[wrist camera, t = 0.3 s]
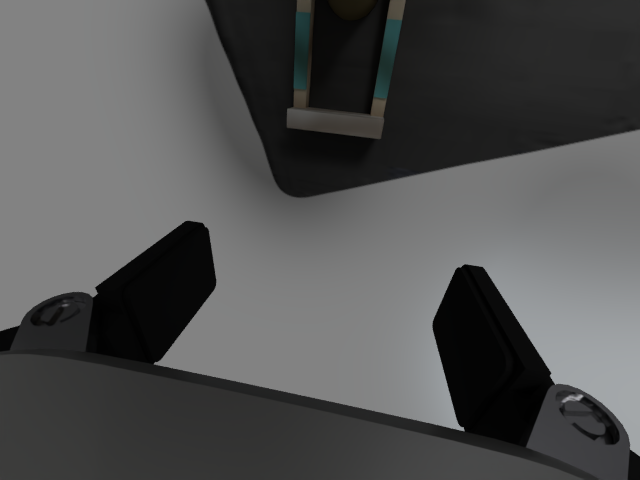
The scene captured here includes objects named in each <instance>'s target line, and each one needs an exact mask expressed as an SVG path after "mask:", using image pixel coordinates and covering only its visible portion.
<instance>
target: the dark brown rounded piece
mask: <svg viewBox="0 0 640 480" xmlns="http://www.w3.org/2000/svg"><path fill="white" fill-rule="evenodd" d="M377 1H378V0H328V3H329V5H330V7H331V9H332V10H333V12H334V13H335V14H336V15H338V16H339V17H340V18H341V19H345V20H348V21H353V20H359V19H361V18H363V17H364V16H366V15H367V14H368V13H369V12H370V11H371V10H372V9H373V8H374V7H375V5H376V3H377Z"/></svg>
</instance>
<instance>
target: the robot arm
mask: <svg viewBox="0 0 640 480" xmlns="http://www.w3.org/2000/svg"><path fill="white" fill-rule="evenodd" d="M215 286H216V276H215V269H214V263H213V256H212V250H211V243H210V236H209V230H208V228H206V227H205V226H204V224H203V223H199V222H193V221H185V222H184V223H182V224H181V225H180V226H178V227H177V228H176V229H174V230H173V231H172V232H170V233H169V234H167V235H166V236H165V237H163V238H162V239H161V240H159V241H158V242H157V243H155V244H154V245H153V246H151V247H150V248H148V249H147V250H146V251H144V252H143V253H142V254H140V255H139V256H137V257H136V258H135V259H133V260H132V261H131V262H129V263H128V264H127V265H125V266H124V267H122V268H121V269H120V270H118V271H117V272H116V273H114V274H113V275H112V276H110V277H109V278H107V279H106V280H105V281H103V282H102V283H101V284H99V285H98V286H97V287H95V288H96V290H97V293H98V294H97V295H96V296H95V297H93V298H92V297H91V296H90V295H89V294H87V293H83V292H72V293H66V294H61V295H58V296H55V297H52V298H50V299H47V300H45V301H43V302H41V303H40V304H38V305H36V306H35V307H33V308H32V309H31V310H30V311H29V312H28V313H27V314H26V315H25V316H24V318H23V320H22V322H21V324H20V326H17V327H13V328H10V329H6V330H3V331H0V480H640V456H638V455H637V454H635V453H634V452H633V451H631V450H630V442H629V437H628V434H627V432H626V431H625V429H624V427H623V425H622V424H621V423H620V421H619V420H618V419H617V418H616V416H615V415H614V414H613V413H612V412H611V411H610V410H609V409H608V408H606V407H605V406H604V405H603V404H602V403H601V402H599V401H598V400H596V399H595V398H593V397H592V396H591V395H589V394H587V393H585V392H583V391H582V390H580V389H578V388H574V387H572V386H569V385H563V384H556V385H555V384H554V382H553V381H552V379H551V377H550V374H551V372H550V371H549V369H548V368H547V366H546V364H545V363H544V361H543V360H542V358H541V357H540V355H539V353H538V352H537V350H536V349H535V347H534V346H533V344H532V342H531V341H530V339H529V338H528V336H527V335H526V333H525V332H524V330H523V328H522V327H521V325H520V324H519V322H518V321H517V319H516V317H515V316H514V314H513V313H512V311H511V310H510V308H509V306H508V305H507V303H506V302H505V300H504V299H503V297H502V296H501V294H500V292H499V291H498V289H497V288H496V286H495V285H494V283H493V282H492V280H491V278H490V277H489V275H488V274H487V272H486V271H485V269H484V268H483V267H479V266H472V265H466V264H465V265H463V266H462V267H461V268H459V267H458V268H457V269H456V270H455V273H454V275H453V277H452V280H451V281H450V284H449V286H448V288H447V290H446V293H445V295H444V297H443V300H442V302H441V304H440V306H439V309H438V311H437V313H436V315H435V317H434V320H433V332H434V336H435V339H436V343H437V347H438V351H439V354H440V358H441V362H442V365H443V370H444V373H445V377H446V381H447V384H448V388H449V392H450V396H451V400H452V403H453V407H454V410H455V414H456V418H457V421H458V424H459V425H460V426H461V427H464V430H465V432H464V431H459V430H456V429H451V428H447V427H443V426H439V425H434V424H430V423H425V422H420V421H416V420H412V419H407V418H402V417H398V416H394V415H389V414H384V413H380V412H375V411H371V410H366V409H362V408H357V407H352V406H348V405H343V404H339V403H334V402H329V401H325V400H320V399H315V398H310V397H306V396H301V395H297V394H291V393H287V392H283V391H278V390H273V389H269V388H263V387H259V386H254V385H249V384H245V383H240V382H236V381H230V380H226V379H221V378H216V377H211V376H207V375H202V374H197V373H192V372H187V371H183V370H178V369H173V368H168V367H163V366H158V365H154V363H155V362H158V361H159V360H161V359H162V358H163V356H164V355H165V353H166V352H167V351H168V349H169V348H170V347H171V346H172V344H173V343H174V342H175V340H176V339H177V338H178V336H179V335H180V334H181V332H182V331H183V330H184V329H185V327H186V326H187V325H188V323H189V322H190V321H191V319H192V318H193V317H194V315H195V314H196V313H197V311H198V310H199V309H200V307H201V306H202V305H203V303H204V302H205V301H206V300H207V298H208V297H209V296H210V294H211V293H212V292H213V291H214V289H215Z"/></svg>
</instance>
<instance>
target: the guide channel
mask: <svg viewBox="0 0 640 480" xmlns="http://www.w3.org/2000/svg"><path fill="white" fill-rule="evenodd" d="M405 2H406V0H390V3H389V8H388V14H387V20H386V26H385V32H384V38H383V43H382V49H381V55H380V61H379V67H378V73H377V78H376V84H375V90H374V96H373V102H372V108H371V113H370V114H364V113H355V112H346V111H338V110H329V109H320V108H311V107H309V92H310V76H311V59H312V42H313V25H314V9H315V0H297V12H296V29H295V60H294V107H292V108H288V109H287V128H294V129H302V130H310V131H319V132H327V133H335V134H343V135H351V136H360V137H368V138H376V139H381V134H382V129H383V124H384V118H383V115H384V109H385V104H386V99H387V95H388V90H389V85H390V80H391V75H392V69H393V64H394V59H395V54H396V49H397V44H398V39H399V34H400V28H401V23H402V17H403V12H404V7H405Z"/></svg>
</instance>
